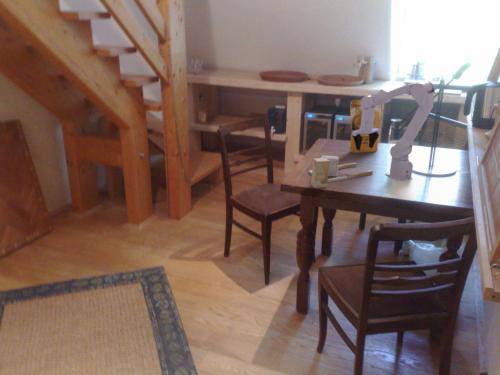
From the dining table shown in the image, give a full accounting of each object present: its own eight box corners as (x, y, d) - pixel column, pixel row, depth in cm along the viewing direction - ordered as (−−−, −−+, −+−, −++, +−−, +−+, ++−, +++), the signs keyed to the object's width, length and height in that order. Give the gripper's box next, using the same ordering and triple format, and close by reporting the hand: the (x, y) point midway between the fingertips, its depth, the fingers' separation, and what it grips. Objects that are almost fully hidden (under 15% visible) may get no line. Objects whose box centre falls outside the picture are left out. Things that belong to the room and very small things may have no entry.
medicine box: (337, 174, 206) (338, 156, 203) (336, 177, 202) (338, 159, 199) (320, 172, 208) (321, 155, 205) (319, 175, 204) (320, 157, 201)
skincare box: (314, 188, 189) (316, 161, 185) (310, 184, 193) (312, 158, 189) (328, 187, 191) (330, 160, 186) (324, 183, 195) (325, 157, 190)
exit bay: (347, 178, 200) (347, 176, 200) (324, 182, 196) (325, 180, 195) (330, 169, 212) (330, 167, 212) (308, 172, 208) (308, 170, 207)
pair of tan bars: (372, 174, 206) (372, 171, 205) (347, 178, 201) (348, 175, 200) (355, 165, 217) (355, 162, 217) (331, 169, 212) (331, 166, 212)
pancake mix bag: (343, 149, 242) (348, 99, 231) (376, 148, 245) (382, 98, 234) (348, 153, 236) (352, 101, 225) (381, 151, 239) (387, 100, 228)
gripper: (374, 117, 213) (371, 144, 218) (349, 120, 207) (347, 148, 213) (383, 120, 207) (380, 148, 212) (358, 123, 201) (355, 152, 207)
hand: (364, 148), depth 212 cm, fingers open, 7 cm apart
